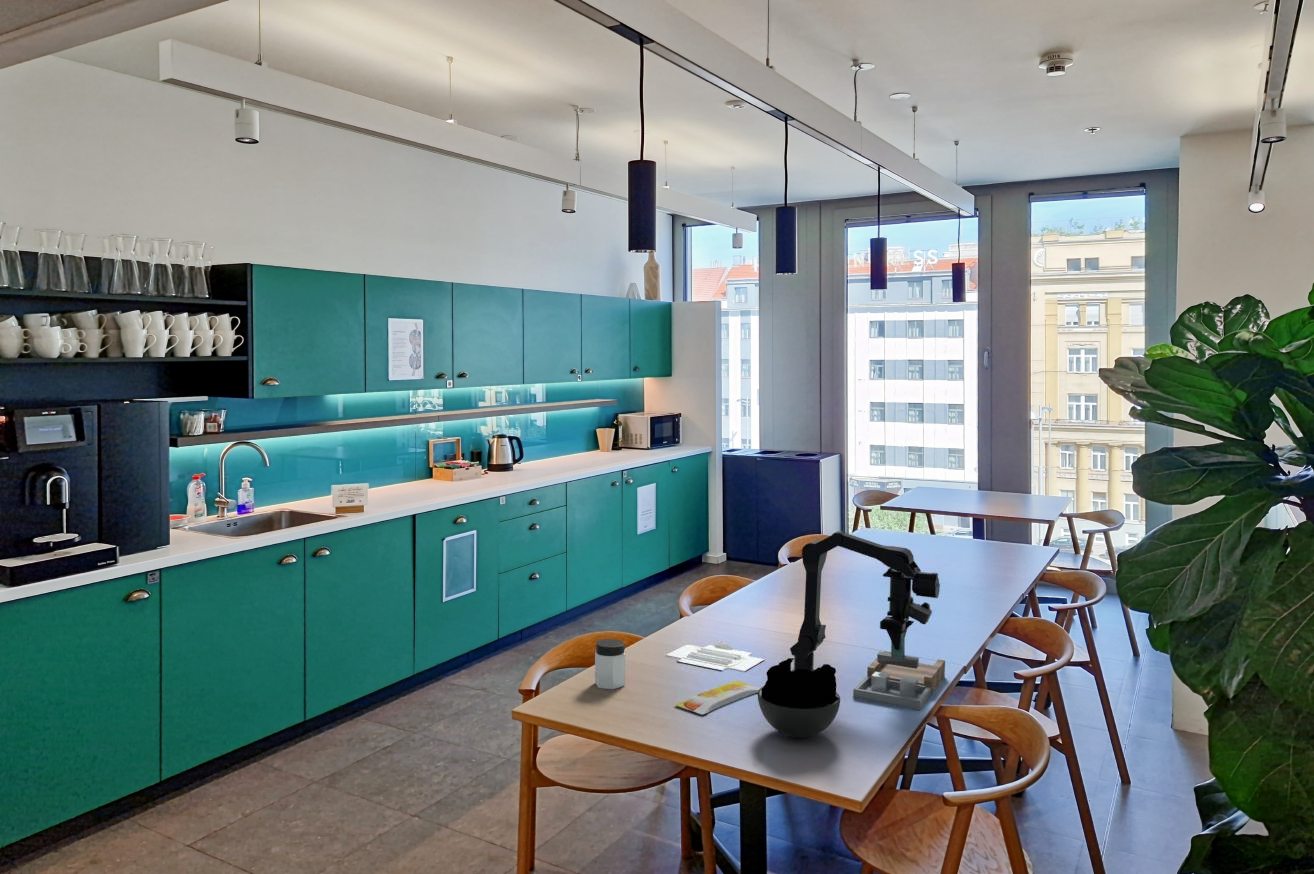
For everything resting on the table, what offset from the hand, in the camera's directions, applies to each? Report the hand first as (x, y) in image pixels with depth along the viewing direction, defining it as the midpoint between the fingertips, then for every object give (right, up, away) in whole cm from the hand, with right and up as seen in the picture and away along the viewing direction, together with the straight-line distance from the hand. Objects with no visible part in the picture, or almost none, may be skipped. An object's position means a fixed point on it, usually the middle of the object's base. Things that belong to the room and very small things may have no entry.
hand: (898, 648), depth 252 cm
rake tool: (0, -5, +1) cm, 5 cm away
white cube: (-4, -9, +1) cm, 10 cm away
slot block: (+5, -11, +9) cm, 15 cm away
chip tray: (-3, -12, -5) cm, 14 cm away
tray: (-50, -11, +28) cm, 58 cm away
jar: (-81, -11, +3) cm, 82 cm away
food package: (-51, -13, -8) cm, 53 cm away
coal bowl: (-33, -14, -32) cm, 49 cm away
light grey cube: (+3, -10, -3) cm, 10 cm away
